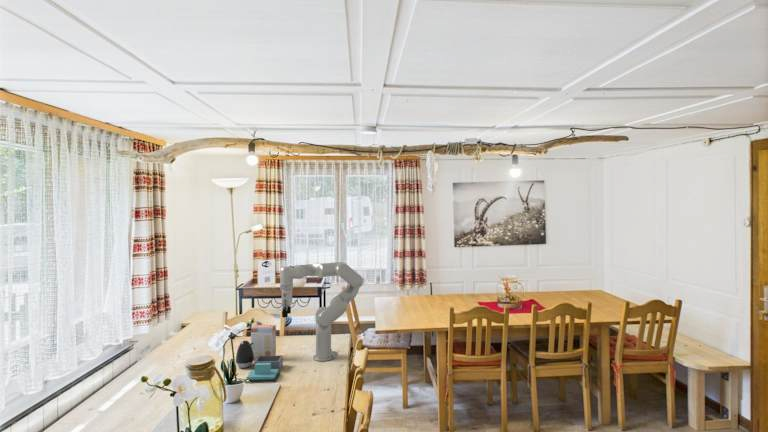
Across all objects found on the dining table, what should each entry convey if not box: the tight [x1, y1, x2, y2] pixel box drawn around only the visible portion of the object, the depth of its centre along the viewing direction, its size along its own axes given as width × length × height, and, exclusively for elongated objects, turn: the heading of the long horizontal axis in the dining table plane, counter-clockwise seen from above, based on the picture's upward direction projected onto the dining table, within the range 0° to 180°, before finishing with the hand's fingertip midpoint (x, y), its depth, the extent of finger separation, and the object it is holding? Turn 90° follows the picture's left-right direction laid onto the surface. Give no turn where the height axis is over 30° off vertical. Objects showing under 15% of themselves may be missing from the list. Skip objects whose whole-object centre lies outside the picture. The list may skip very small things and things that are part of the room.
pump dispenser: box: [235, 339, 254, 369], centre depth 224 cm, size 10×10×15 cm
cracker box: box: [250, 324, 277, 362], centre depth 235 cm, size 14×6×21 cm, turn 84°
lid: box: [245, 363, 280, 381], centre depth 207 cm, size 11×15×7 cm
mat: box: [245, 371, 281, 384], centre depth 207 cm, size 12×16×1 cm
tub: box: [253, 354, 284, 373], centre depth 220 cm, size 10×14×6 cm
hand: (286, 315), depth 232 cm, fingers open, 9 cm apart
